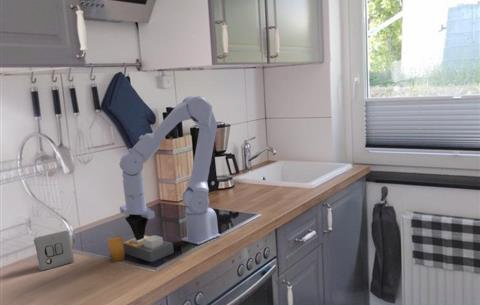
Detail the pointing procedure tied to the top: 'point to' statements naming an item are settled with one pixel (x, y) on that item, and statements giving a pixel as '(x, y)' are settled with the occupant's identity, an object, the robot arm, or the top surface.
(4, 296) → the top surface
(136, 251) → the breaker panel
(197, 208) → the robot arm
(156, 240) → the button
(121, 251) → the cap
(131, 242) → the tagged button
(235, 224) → the top surface
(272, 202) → the top surface
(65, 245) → the electrical switch
